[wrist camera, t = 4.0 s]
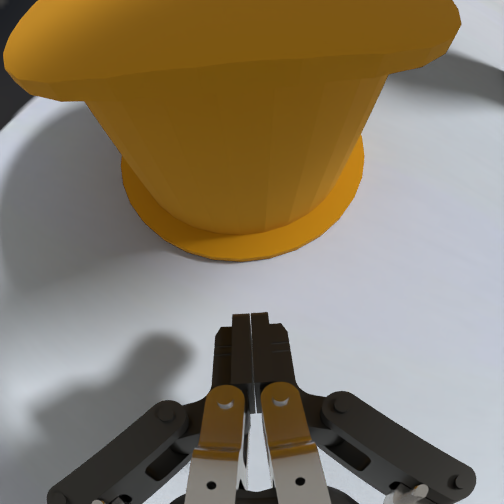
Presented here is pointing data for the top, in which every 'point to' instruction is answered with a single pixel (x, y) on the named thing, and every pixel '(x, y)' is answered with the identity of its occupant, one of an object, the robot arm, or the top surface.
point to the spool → (230, 103)
